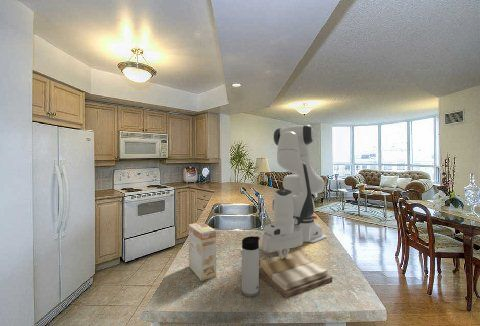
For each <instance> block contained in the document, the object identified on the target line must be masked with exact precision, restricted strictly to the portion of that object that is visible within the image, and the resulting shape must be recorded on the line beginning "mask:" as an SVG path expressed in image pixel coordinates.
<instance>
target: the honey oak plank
mask: <svg viewBox="0 0 480 326" xmlns="http://www.w3.org/2000/svg"><path fill="white" fill-rule="evenodd" d="M312 262H313V261H311V259H309V258H308V257H307V256H306V254H304V253H303V252H302V251H301V250H297V251H293V252H288V254H287V258H286V259H282V260H281V259H279V255H278V256H274V257H271V258H267V259H262V260H259V267H260V268H261V267H262V268H263V270H264V271H265V272H266V273H267V275H268V276H269V277H270V278H272V274H275V273H279V272H282V271H285V270H289V269H292V268H295V267H299V266H302V265H305V264H309V263H312Z"/></svg>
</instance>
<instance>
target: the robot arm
mask: <svg viewBox="0 0 480 326" xmlns="http://www.w3.org/2000/svg"><path fill="white" fill-rule="evenodd" d="M315 135H316V133H315V130H314V128H313V126H312V125H310V124H298V125H292V126H290V125H289V126H286V127H285V126H283V127H279V128H277V129H275V130H274V132H273V142H274V145H276V146H277V148H276V149H277V151H276V159H277V160H276V161H277V164H278V166H279V167H280V168H281V169H283V170H284V171H287V172H289V173H293V174H288V175H285V176H284V177H283V179H282V186H283V188H281V189H277V190H276V191H275V193H274V197H273V199H272V212H273V220H272V222H271V223H268V224H267V225H265V226H264V227H263V229H262V230H263V232H264V233H263V234H262V239H261V249H262V251H264V253H267V254H271V253H274V252H277V254H278V256H279V259H281V260H282V259H286V258H287V254H289V253H290V249H292V248H293V249H294V248H297V247H301V246H302V245H303V244H304V242H306V243H312V244H314V243H317V242H319V241H322V240H324V239H327V235H326V234H325V233H323V228H322V226H321V225H319V224H318V223H317V222H316V221H315V220H317V219H318V216H317V215H314V213H315V210H316V207H315V202H314V199H313V195H315V194H321V193H322V192H323V191H324V189H325V186H326V184H325V180H324V179H323V177H322V176H320V175H319V174H318V173H317V172H316V171H315V170H314V168H313V167H312V164H311V160H310V159H311V158H310V152H309V151H310V150H309V144H312V143H313V142H314V139H315ZM312 194H313V195H312Z"/></svg>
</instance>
